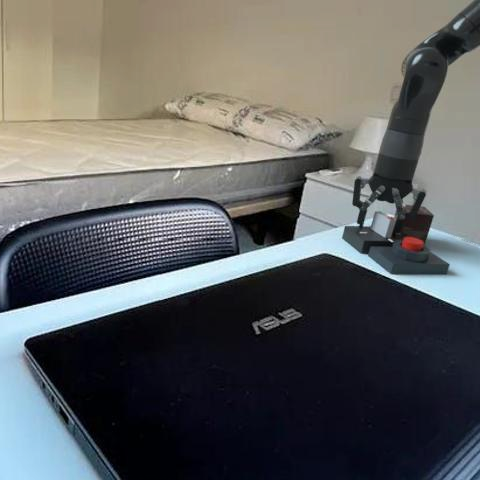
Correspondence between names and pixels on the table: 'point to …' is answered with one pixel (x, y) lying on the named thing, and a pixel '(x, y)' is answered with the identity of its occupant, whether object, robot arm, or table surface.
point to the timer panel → (368, 238)
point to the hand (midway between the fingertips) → (377, 230)
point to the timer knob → (383, 224)
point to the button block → (407, 260)
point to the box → (417, 223)
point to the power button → (412, 244)
